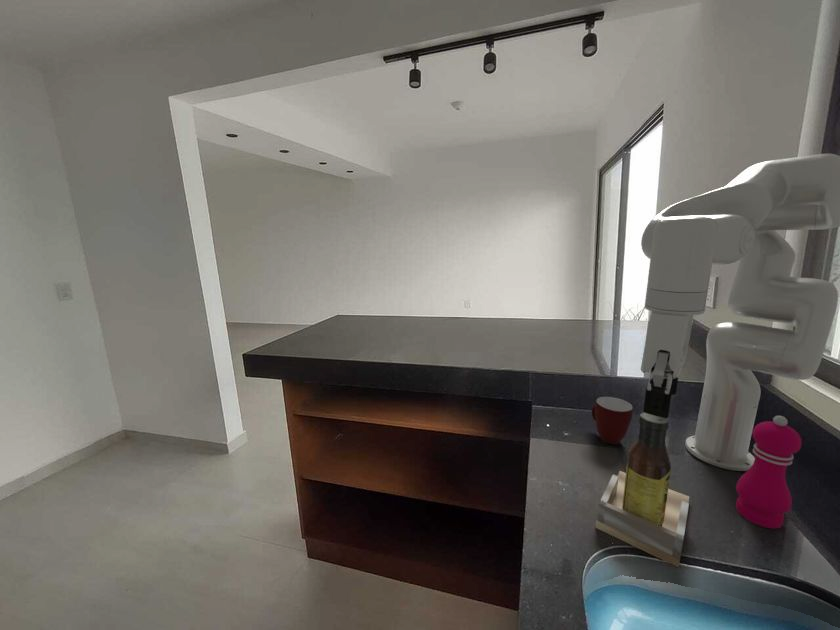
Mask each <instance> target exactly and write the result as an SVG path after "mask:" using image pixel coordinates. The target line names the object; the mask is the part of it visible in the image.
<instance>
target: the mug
mask: <svg viewBox="0 0 840 630" xmlns="http://www.w3.org/2000/svg"><path fill="white" fill-rule="evenodd" d="M633 411H634V406H633V405H632V404H631V403H630V402H629V401H626V399H625V400H624V399H622V398H618V397H614V396H613V397H612V396H600V397H598V398H596V400H595V404H594V405H593V406H592V408H591V416H592V419H593V420H594V421H595V425H596V427H595V428H596V430H597V431H596V432H597V433H598V436H599V438H600V440H601V441H602V442H603V443H605V444H608V445H615V446H616V445H618V444H619V443H621V442H622V440H623V439H624V438H625V437H626V435H627V433H628V430H629V427H630V424H631V421H632V417H633Z"/></svg>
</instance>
